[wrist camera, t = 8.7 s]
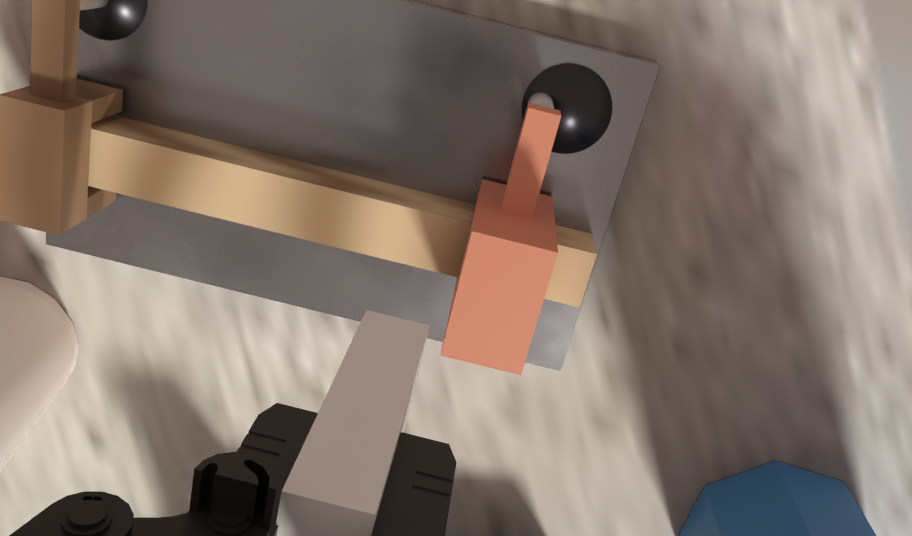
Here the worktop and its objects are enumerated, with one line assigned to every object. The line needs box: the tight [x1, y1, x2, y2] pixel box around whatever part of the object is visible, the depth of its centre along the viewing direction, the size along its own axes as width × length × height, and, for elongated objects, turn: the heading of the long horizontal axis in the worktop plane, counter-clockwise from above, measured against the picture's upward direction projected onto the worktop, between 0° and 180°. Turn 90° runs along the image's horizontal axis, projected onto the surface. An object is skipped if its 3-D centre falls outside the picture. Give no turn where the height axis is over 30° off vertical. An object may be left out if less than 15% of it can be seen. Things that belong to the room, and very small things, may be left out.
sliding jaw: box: [441, 92, 561, 375], centre depth 30 cm, size 3×9×6 cm, turn 167°
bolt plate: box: [46, 0, 660, 371], centre depth 34 cm, size 24×14×1 cm, turn 77°
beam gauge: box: [0, 0, 597, 308], centre depth 31 cm, size 23×9×5 cm, turn 77°
